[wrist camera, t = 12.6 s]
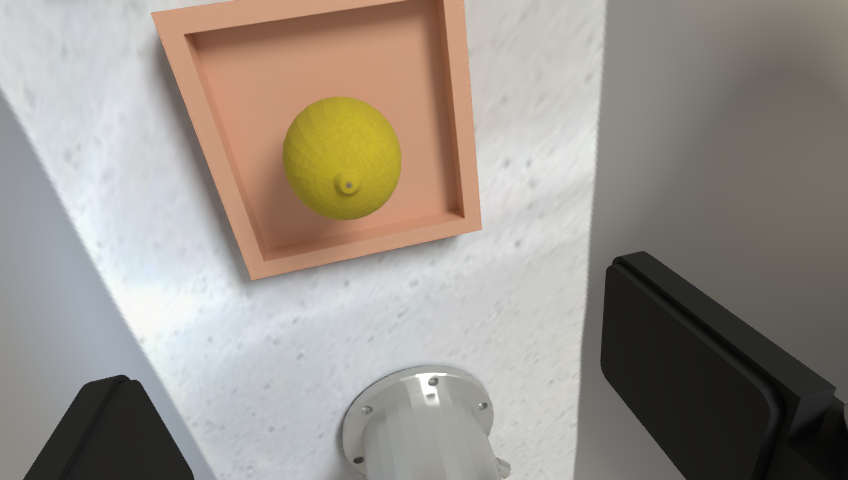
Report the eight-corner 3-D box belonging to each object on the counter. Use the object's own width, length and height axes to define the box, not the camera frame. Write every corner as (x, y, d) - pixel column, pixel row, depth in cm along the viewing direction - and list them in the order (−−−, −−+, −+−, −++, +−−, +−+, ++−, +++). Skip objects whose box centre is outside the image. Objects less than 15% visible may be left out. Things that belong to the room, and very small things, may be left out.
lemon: (406, 151, 26) (439, 202, 19) (326, 202, 27) (330, 269, 20) (353, 64, 24) (369, 86, 17) (265, 121, 24) (244, 167, 17)
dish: (469, 213, 30) (481, 229, 28) (256, 259, 28) (251, 280, 26) (447, -29, 23) (461, -33, 21) (166, 12, 22) (150, 12, 20)
